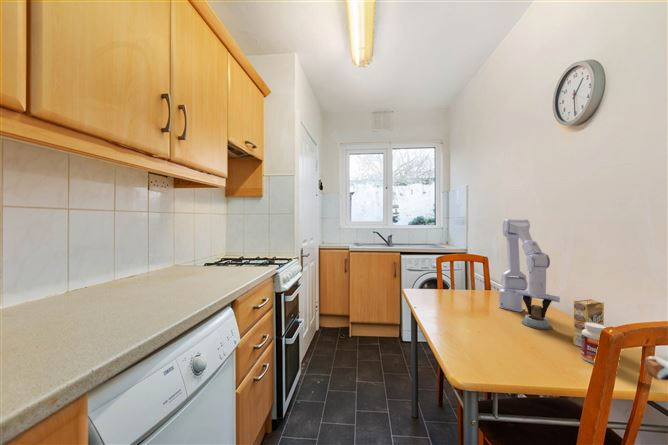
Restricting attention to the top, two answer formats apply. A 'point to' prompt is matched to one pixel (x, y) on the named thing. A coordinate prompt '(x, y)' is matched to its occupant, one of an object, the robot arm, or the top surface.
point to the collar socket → (536, 323)
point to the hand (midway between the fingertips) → (536, 315)
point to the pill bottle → (590, 341)
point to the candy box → (586, 316)
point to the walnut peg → (536, 312)
